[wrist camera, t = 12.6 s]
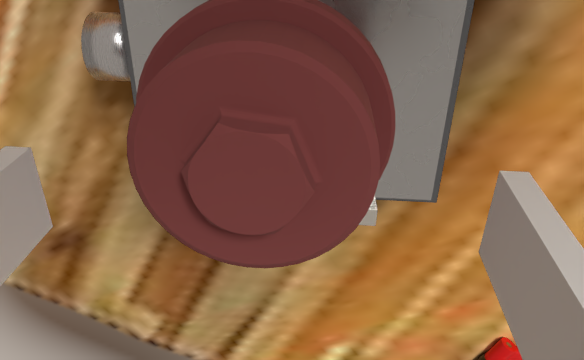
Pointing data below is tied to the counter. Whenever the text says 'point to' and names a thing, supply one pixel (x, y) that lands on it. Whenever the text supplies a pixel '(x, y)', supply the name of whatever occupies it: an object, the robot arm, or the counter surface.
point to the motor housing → (387, 44)
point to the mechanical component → (261, 130)
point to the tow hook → (502, 351)
